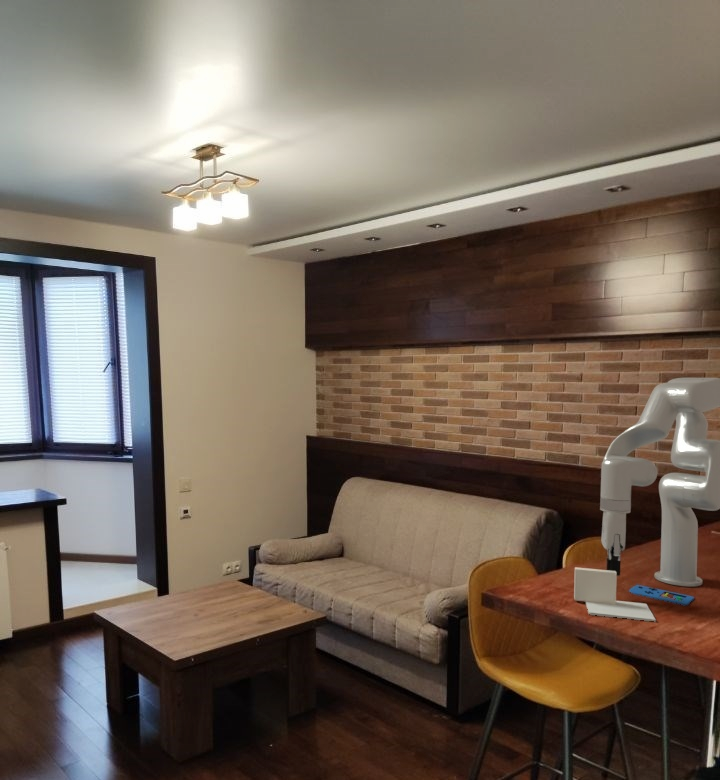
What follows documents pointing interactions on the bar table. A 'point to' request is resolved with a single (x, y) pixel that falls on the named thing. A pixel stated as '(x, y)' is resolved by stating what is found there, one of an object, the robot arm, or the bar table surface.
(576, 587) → the ceramic tile
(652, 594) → the handheld gaming device
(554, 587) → the bar table surface
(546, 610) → the bar table surface
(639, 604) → the rubber mat
